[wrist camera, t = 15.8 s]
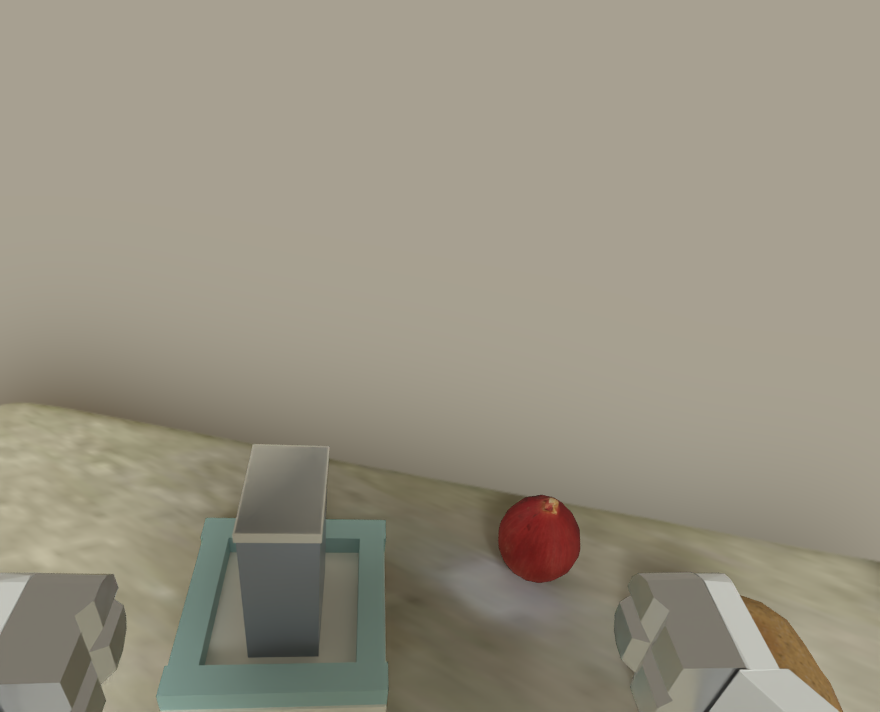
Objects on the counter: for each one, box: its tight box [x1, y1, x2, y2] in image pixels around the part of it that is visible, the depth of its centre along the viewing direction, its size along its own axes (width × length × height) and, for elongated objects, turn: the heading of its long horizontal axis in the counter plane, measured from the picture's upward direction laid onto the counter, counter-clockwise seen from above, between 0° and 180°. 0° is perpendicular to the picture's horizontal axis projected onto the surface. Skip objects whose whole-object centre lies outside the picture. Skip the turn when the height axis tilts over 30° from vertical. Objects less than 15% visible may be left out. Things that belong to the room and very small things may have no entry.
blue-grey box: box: [232, 444, 330, 658], centre depth 35 cm, size 4×6×11 cm
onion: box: [498, 495, 580, 583], centre depth 44 cm, size 6×6×8 cm
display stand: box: [156, 518, 388, 712], centre depth 39 cm, size 12×12×4 cm
